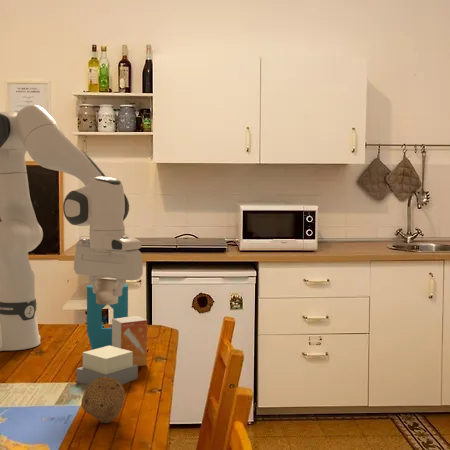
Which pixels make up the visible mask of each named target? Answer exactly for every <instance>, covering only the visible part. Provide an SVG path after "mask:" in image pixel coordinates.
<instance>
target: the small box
mask: <svg viewBox="0 0 450 450" xmlns="http://www.w3.org/2000/svg"><path fill="white" fill-rule="evenodd" d="M111 325H112V346H113V347H117V348H121V349H125V350H129V351H133V364H134V365H138V367H144V366H147V363H148V362H147V354H148V353H147V351H148V346H147V345H148V319H146V318H144V317H142V316H140V315H133V316H128V317H123V318H116V319H113V318H112V319H111Z"/></svg>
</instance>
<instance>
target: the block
mask: <svg viewBox="0 0 450 450" xmlns="http://www.w3.org/2000/svg"><path fill="white" fill-rule="evenodd" d="M106 306H107V305H100V304H97V303H96V293H93V286H92V285H91V284H87V285H86V333H87V337H88V340H89V344H90V348H91V350H94V349H98V348H101V347H105V346H109V345H110V346H112V324H110V327H105V325H104V324H102V322H103V321H102V317H103V314H102V312H103V309H104V308H105V307H106ZM108 306H109V307H110V308H111V309H112V311H113V312H112V314H113V315H112V316H113V317H112V319H116V318H123V317H129V284H127V283H125V285H124V287H123V289H122V296H118V303H117V304H112V305H108Z"/></svg>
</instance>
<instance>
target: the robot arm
mask: <svg viewBox="0 0 450 450" xmlns="http://www.w3.org/2000/svg"><path fill="white" fill-rule="evenodd" d="M26 153H28V155H29V157H30V158H31V159H32V160H33V161H34V162H35V164H37V165H38V166H40V167H42V168H45V169H46V170H47V169H48V170H52V171H57V172H60V173H64V174H68V175H71V176H73V177H75V178H76V179H78V180H80V182H82V183H83V185H84V186H82V187H80V188H77V189H75V190H71V191H69V192H68V193H67V195H66V196H65V198H64V201H63V205H62V207H63V216H64V217H65V219H66V220H67V222H68V223H69V224H71V225H73V226H78V227H86V226H89V239H88V238H87V239H86V238H81V239H80V240H78V241H77V243H76V245H75V253H74V260H73V262H74V263H73V270H74V273H75V275H80V276H81V275H82V276H88V281H89V283H90V285H92V286H93V293H96V279H99V277H100V278H115V279H116V283H118V285H117V287H116V289H113V292H114V293H113V295H114V296H122V289H123V287H124V285H125V284H127V281H136V280H140V279H141V278H142V277H143V274H144V272H143V270H144V268H143V266H144V265H143V255H142V252H141V251H140V250H139V249H141V248H142V241H141V240H139V239H138V238H135V237H133V236H131V235H129V234H128V233H125V232H126V231H125V228H126V227H125V224H124V221H125V220H126V218H127V217H128V214H129V211H130V204H129V199H128V196H127V195H126V194H125V192H124V191H125V189H124V186H123V182H121V181H120V180H119V179H118V178H115V177H111V176H106V175H105V173H104V172H103V171H102V169H100V168H99V166H98V165H97V163H96V162H94V160H93V159H92V158H91V157H90V156H89V155H88V154H87V153H86V152H84V151H83V149H80V147H78V146H77V145H76V144H74V143H73V142H72V140H70V138H69V137H68V136H66V134H65V133H64V132H63V130H62V129H61V127H60V126H59V124H58V123H57V122H56V120H55V118H53V116H52V115H50V113H48V111H47V110H46V109H44V108H43V107H41V106H40V105H36V104H33V105H32V104H31V105H27V106H24V107H23V108H21V109H20V110H14V111H13V110H11V111H0V220H1V221H0V352H2V351H21V350H27V349H32V348H35V347H38V346H40V344H42V343H41V335H40V333H39V325H38V316H37V313H36V311H37V304H38V303H37V298H35V297H36V296H35V295H36V293H35V292H36V289H35V288H36V287H35V285H36V284H35V282H36V281H35V280H36V279H35V277H36V276H35V273H34V271H33V268H32V267H31V263H30V257H29V252H32V251H33V250H35V249H36V248H37V247H38V246H39V245H40V244H41V242H42V240H43V237H44V232H43V228H42V227H41V225H40V223H39V222H38V220H37V217H36V213H35V209H34V206H33V203H32V200H31V195H30V188H29V187H30V185H29V180H28V179H29V178H28V173H27V172H28V171H27V164H26V156H25V155H26Z"/></svg>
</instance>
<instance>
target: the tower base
mask: <svg viewBox="0 0 450 450" xmlns="http://www.w3.org/2000/svg"><path fill="white" fill-rule="evenodd" d="M138 367H139V366H138V365H134V364H133V367H130V368H126V369H123V370H120V371H117V372H113V373H110V374H107V375H105V374H102V373H99V372H96V371H92V370H89V369H86V368H83V366H81V367H77V368H76V383H80V384H84V385H87V386H89V385H90V383H91V382H92V381H94V380H95V379H97V378H99V377H111V378H114V379H116V380H117V381H119V382H120V384H121V385H122V386H123V385H125V384H127V383H130V382H132V381H135V380H136V379H138V378H139V377H138V374H139V373H138V372H139V370H138Z"/></svg>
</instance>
